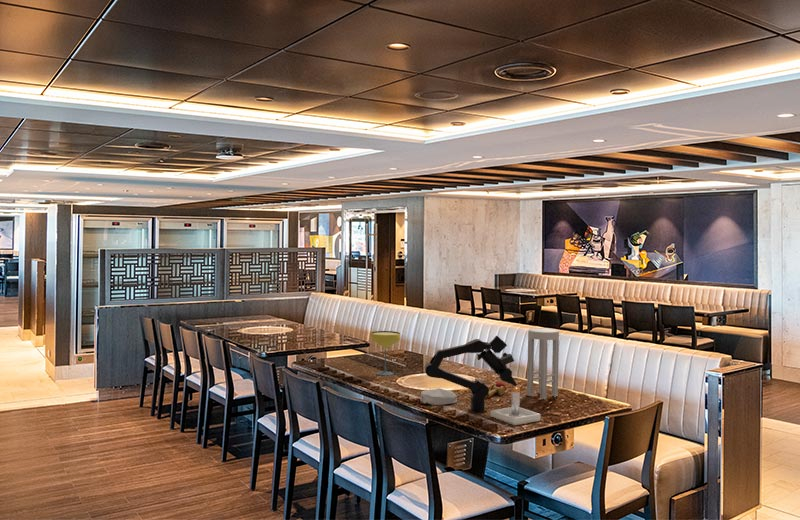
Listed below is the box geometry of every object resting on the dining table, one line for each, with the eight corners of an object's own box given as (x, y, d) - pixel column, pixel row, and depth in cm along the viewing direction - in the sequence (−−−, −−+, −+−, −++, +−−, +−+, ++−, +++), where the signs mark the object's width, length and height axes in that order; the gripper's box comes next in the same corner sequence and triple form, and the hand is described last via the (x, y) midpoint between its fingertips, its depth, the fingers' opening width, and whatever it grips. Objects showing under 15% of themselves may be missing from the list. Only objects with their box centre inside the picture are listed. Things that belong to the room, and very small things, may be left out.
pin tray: (490, 416, 301) (490, 410, 301) (516, 412, 310) (516, 406, 309) (513, 425, 288) (513, 418, 287) (540, 420, 296) (540, 414, 296)
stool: (563, 396, 343) (564, 330, 342) (544, 400, 333) (545, 333, 332) (540, 391, 355) (541, 327, 354) (521, 395, 346) (522, 329, 345)
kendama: (495, 401, 336) (510, 390, 350) (493, 390, 335) (508, 379, 350) (482, 402, 340) (498, 391, 355) (480, 390, 340) (495, 380, 355)
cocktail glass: (393, 378, 384) (394, 335, 383) (365, 375, 390) (366, 333, 389) (404, 372, 400) (404, 332, 400) (377, 370, 407) (377, 330, 406)
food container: (413, 398, 337) (413, 385, 336) (448, 395, 344) (448, 382, 344) (428, 408, 318) (428, 394, 318) (465, 404, 325) (465, 391, 325)
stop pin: (507, 415, 301) (507, 386, 301) (519, 415, 302) (520, 386, 302) (510, 418, 295) (511, 389, 295) (523, 418, 296) (524, 389, 296)
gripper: (507, 351, 301) (530, 375, 302) (500, 345, 320) (522, 367, 321) (490, 368, 301) (513, 392, 302) (484, 361, 320) (505, 383, 321)
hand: (514, 383), depth 311 cm, fingers open, 9 cm apart
